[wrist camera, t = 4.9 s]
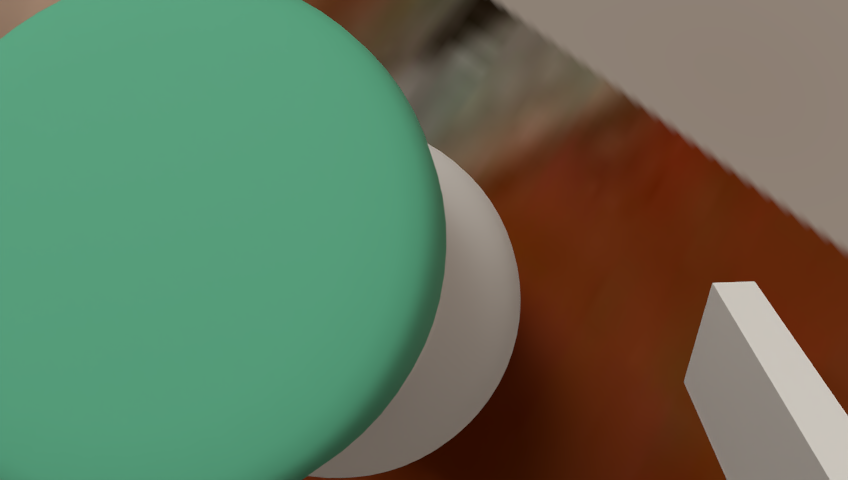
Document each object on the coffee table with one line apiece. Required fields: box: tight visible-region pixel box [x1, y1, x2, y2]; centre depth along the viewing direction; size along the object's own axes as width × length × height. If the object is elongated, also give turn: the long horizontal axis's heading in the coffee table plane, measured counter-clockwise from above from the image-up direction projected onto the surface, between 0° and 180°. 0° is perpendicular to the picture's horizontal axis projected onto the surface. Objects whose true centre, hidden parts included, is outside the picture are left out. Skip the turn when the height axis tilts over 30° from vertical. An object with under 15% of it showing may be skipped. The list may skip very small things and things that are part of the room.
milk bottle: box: [0, 0, 520, 480], centre depth 14 cm, size 8×8×20 cm
